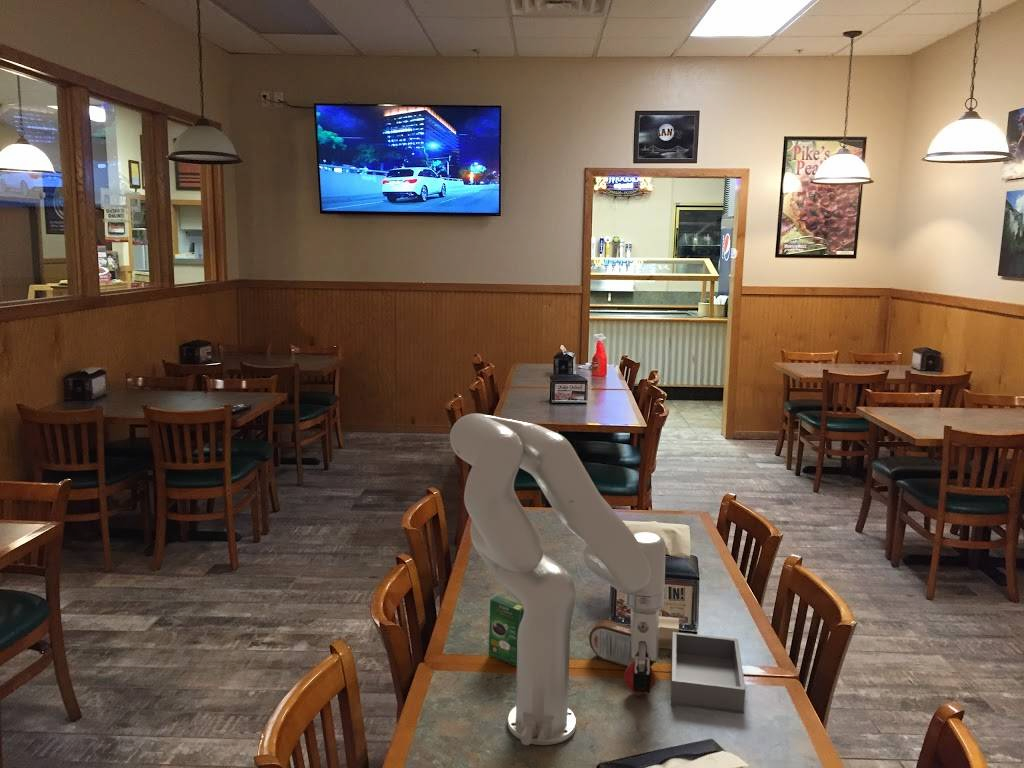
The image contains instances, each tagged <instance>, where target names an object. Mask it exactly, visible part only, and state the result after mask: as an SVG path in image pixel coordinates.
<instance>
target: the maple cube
mask: <svg viewBox="0 0 1024 768" xmlns="http://www.w3.org/2000/svg"><path fill="white" fill-rule="evenodd" d="M679 631H680V618H679V617H671V616H662V615H661V616H660V615H659V642H658V648H661V649H669V650H672V635H673V632H678V633H680V632H679Z"/></svg>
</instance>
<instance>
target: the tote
mask: <svg viewBox="0 0 1024 768" xmlns="http://www.w3.org/2000/svg"><path fill="white" fill-rule="evenodd" d="M739 644H740V643H739V639H738V638H732V637H722V636H714V635H703V634H696V633H695V634H694V633H684V632H679V633H678V632H673V635H672V649H671V657H670V658H671V660H670V661H671V666H670V667H671V668H670V705H673V706H681V707H689V708H697V709H705V710H713V711H718V712H720V711H721V712H728V713H733V714H734V713H736V714H742V715H744V713H745V700H746V699H745V698H746V685H745V678H744V677H745V676H744V669H743V664H742V656H741V650H740V645H739Z"/></svg>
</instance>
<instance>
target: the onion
mask: <svg viewBox="0 0 1024 768" xmlns="http://www.w3.org/2000/svg"><path fill="white" fill-rule="evenodd" d="M638 662H639V660H638ZM645 665H646V666H647V662H645ZM634 671H635V661H633V662H632V663H631V664H629V665H628V667H626V668H625V671H624V675H623V676H624V683H625V685H626V687H627V689H628V690H630V691H631V692H633V693H634V694H635V695H636V696H642V695H645V694H646V692H636V691H634V690H633V681H634ZM649 672H651V688H650V690H652V688H653V686H654V684H655V681H656V680H655V679H656V678H655V673H654V670H653V668H652V666H651V667H650V671H649Z"/></svg>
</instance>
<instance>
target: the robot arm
mask: <svg viewBox="0 0 1024 768" xmlns="http://www.w3.org/2000/svg"><path fill="white" fill-rule="evenodd" d="M449 442H450V447H451V448H452V450H453V452H454V453H455V454H456V456H457V457H459V459H461V460H463V461H464V462H466V463H467V464H469V465H470V466H471V469H470V471H469V473H468V476H467V479H466V483H465V487H464V494H463V503H464V506H465V508H466V512H467V513H468V515H469V518H470V519H471V522H470V528H469V532H470V533H469V534H470V538H471V542H472V544H473V546H474V548H475V550H476V552H477V553H478V554H479V556H480V557H481V559H482V560H483V561H484V563H485V565H486V566H487V568H488V569H489V571H490V572H491V574H492V575H493V576H494V579H496V581H497V583H498V584H499V585H500V586H501V587H502V589H504V591H506V592H507V593H508V594H509V595H510V596H511V597H513V598H514V599H515V600H516V601H517V603H519V604H521V605H522V606H523V609H524V615H523V618H522V620H521V622H520V625H519V628H518V635H517V667H516V693H515V694H516V695H515V696H516V698H515V699H516V700H515V701H516V702H515V706H514V707H513V708H512V709H511V710H510V711H509V713H508V715H507V728H508V730H509V732H510V733H511V734H512V735H513V736H514V737H516V738H517V739H519V740H520V742H521V744H522V745H524V746H530V745H537V746H550V745H556V744H560V743H563V742H565V741H566V740H568V739H569V738H571V737H572V736H573V734H574V733H575V731H576V728H577V718H576V716H575V714H574V712H573V711H572V710H571V709H570V708H569V691H570V690H569V684H570V682H569V681H570V658H571V657H570V654H571V653H570V652H571V651H570V650H571V649H570V648H571V631H572V630H571V629H572V620H573V614H574V611H575V607H576V604H577V603H576V602H577V596H578V595H577V593H578V592H577V590H578V589H577V586H576V583H575V581H574V579H573V577H572V576H571V574H570V573H569V572H568V570H566V569H565V568H564V567H563V566H561V565H560V564H558V563H557V562H556V561H554V560H553V559H552V558H550V557H548V556H547V555H545V553H544V551H545V548H544V547H545V546H544V541H543V537H542V536H541V533H540V531H539V529H538V528H537V526H536V524H535V523H534V522H533V521H532V519H531V517H530V515H528V513H527V512H526V510H525V508H524V507H523V505H522V503H521V502H520V500H519V498H518V496H517V494H516V491H515V487H514V486H515V480H516V477H517V474H518V472H519V470H520V469H521V470H523V471H524V472H527V473H528V474H530V475H531V476H532V477H533V478H534V479H535V481H536V483H537V485H538V486H539V488H540V489H541V491H542V492H543V494H544V496H545V498H546V500H547V501H548V503H549V504H550V506H551V508H552V509H553V511H554V512H555V514H556V516H557V518H558V519H559V520H560V521H561V523H563V525H564V526H565V527H567V529H568V530H569V531H570V532H571V533H572V534H574V535H575V536H576V537H578V538H579V539H580V540H581V541H582V542H583V543H585V544H586V546H585V547H584V550H583V553H582V561H583V564H584V566H585V567H586V569H587V570H588V571H589V572H591V574H593V575H594V576H596V577H597V578H599V579H600V580H601V581H603V582H606V584H608V585H609V586H611V587H613V588H614V589H615V590H616V591H618V592H620V593H622V594H624V605H625V606H626V607H627V609H630V627H631V648H632V657H633V659H635V671H634V681H633V690H634V691H636V692H646V693H647V694H649V693H651V689H652V688H651V672H649V671H650V665H652V661H656V660H658V659H659V656H658V642H659V616H660V611H661V610H662V609H664V606H665V583H666V581H665V580H666V579H665V578H666V550H667V549H666V548H667V547H666V541H665V540H664V538H663V536H661V535H660V534H658V533H655V532H651V531H636V532H632V530H631V529H630V528H629V527H628V526H627V525H626V523H625V522H624V520H622V519H621V518H620V516H619V515H618V514H617V513H616V512H615V510H614V509H613V508H612V506H611V504H609V503H608V501H606V499H604V497H603V496H602V495H601V493H600V492H599V490H598V488H597V487H596V486H595V484H594V482H593V480H592V478H591V477H590V474H589V472H588V471H587V470H586V468H585V466H584V465H583V462H582V461H581V459H580V458H579V456H578V454H577V451H576V450H575V448H574V447H573V445H572V444H571V442H570V441H569V440H568V439H567V438H566V437H565V436H563V435H562V434H560V433H558V432H555V431H553V430H550V429H548V428H547V427H544V426H541V425H539V424H536V423H530V422H525V421H521V420H520V421H519V420H514V419H508V418H503V417H498V416H493V415H488V414H484V413H469V414H466V415H465V414H464V416H462V417H460V418H458V419H457V420H456V421H455V423H454V424H453V426H452V428H451V430H450V434H449ZM638 660H639V662H638ZM645 662H647V666H646V665H645ZM656 662H657V661H656ZM652 666H653V665H652ZM650 688H651V689H650ZM646 693H645V694H646Z"/></svg>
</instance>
